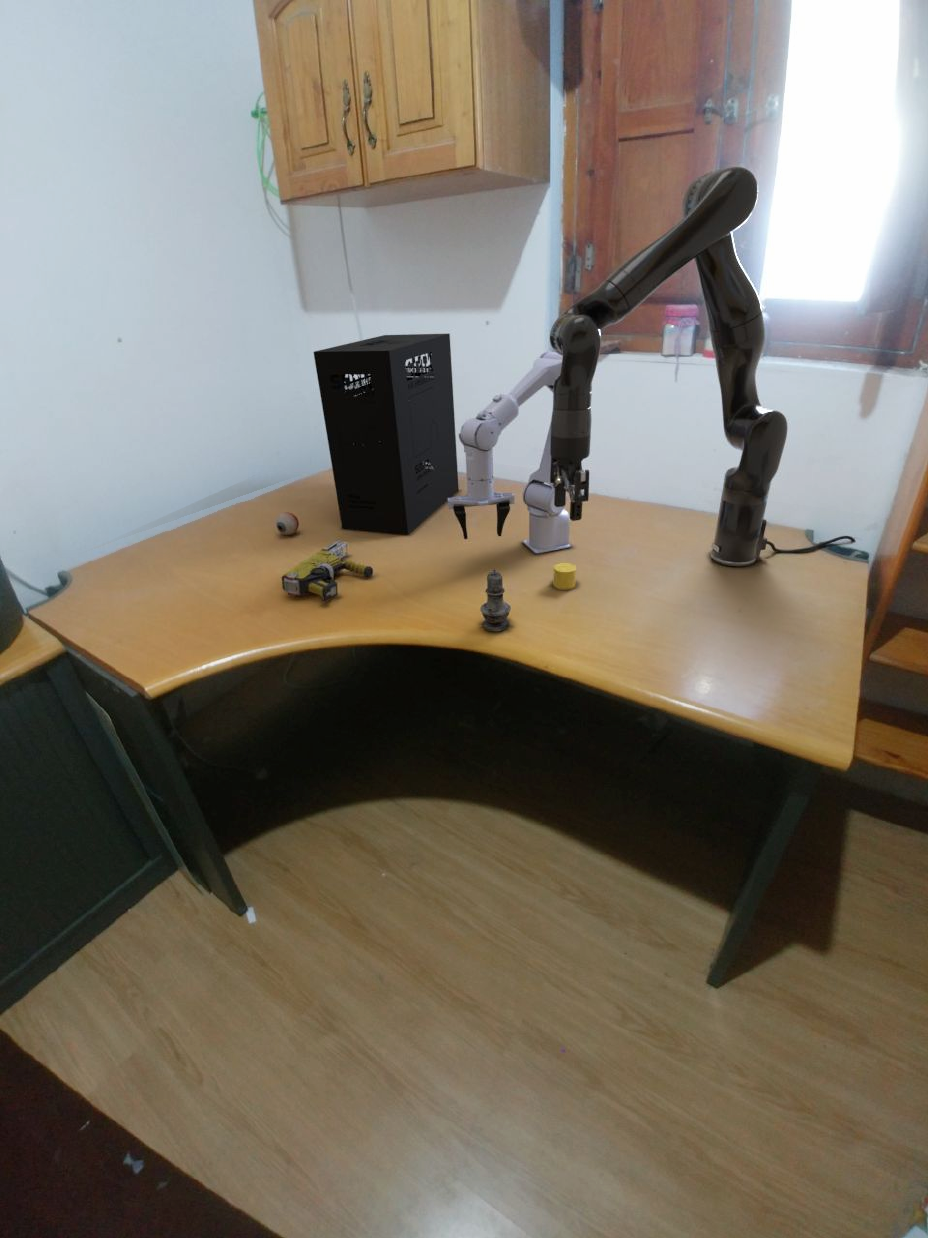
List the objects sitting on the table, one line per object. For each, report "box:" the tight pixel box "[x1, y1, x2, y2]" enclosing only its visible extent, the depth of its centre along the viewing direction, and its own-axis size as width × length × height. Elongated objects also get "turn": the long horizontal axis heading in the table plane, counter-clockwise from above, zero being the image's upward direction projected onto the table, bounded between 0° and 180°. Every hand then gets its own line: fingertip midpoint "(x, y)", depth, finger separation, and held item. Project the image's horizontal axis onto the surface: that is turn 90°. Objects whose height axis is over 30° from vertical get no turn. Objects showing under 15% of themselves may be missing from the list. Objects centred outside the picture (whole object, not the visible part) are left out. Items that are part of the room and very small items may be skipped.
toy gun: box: [281, 539, 374, 603], centre depth 138 cm, size 5×24×15 cm
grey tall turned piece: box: [479, 568, 512, 632], centre depth 114 cm, size 6×6×12 cm
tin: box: [552, 562, 577, 591], centre depth 130 cm, size 5×5×4 cm
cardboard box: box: [313, 333, 460, 535], centre depth 167 cm, size 38×20×45 cm, turn 159°
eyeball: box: [275, 511, 300, 536], centre depth 163 cm, size 6×6×6 cm
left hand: (482, 536), depth 136 cm, fingers open, 7 cm apart
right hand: (567, 512), depth 122 cm, fingers open, 8 cm apart
